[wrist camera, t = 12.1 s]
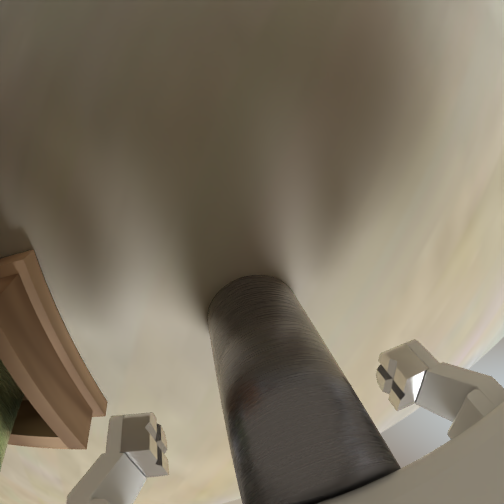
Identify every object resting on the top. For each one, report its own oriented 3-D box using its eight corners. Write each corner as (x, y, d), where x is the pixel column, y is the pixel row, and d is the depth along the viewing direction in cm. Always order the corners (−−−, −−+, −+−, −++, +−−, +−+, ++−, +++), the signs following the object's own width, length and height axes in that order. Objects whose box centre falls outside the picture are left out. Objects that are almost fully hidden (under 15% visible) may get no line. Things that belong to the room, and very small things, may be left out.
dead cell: (294, 266, 13) (433, 461, 4) (298, 339, 15) (390, 514, 6) (198, 285, 13) (241, 531, 4) (216, 358, 14) (261, 557, 6)
